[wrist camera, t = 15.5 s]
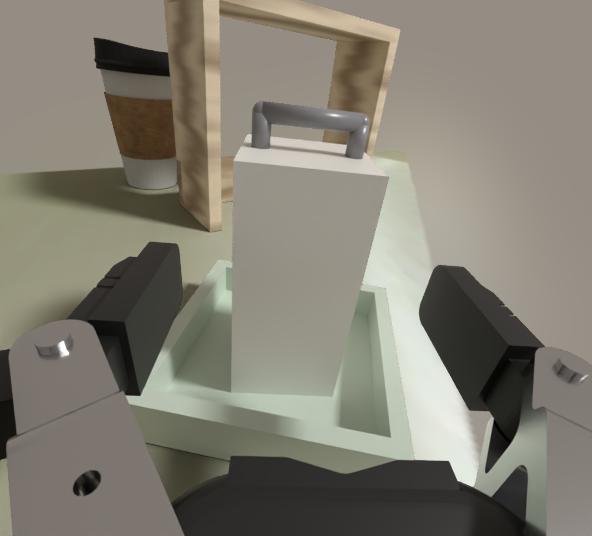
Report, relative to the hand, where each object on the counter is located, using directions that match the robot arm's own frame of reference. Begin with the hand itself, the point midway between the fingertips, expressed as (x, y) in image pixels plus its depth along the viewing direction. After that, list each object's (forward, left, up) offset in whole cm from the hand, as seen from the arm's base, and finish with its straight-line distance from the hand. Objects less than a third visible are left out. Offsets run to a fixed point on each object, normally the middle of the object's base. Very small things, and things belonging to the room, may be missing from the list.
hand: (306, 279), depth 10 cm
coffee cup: (-23, +30, -9) cm, 39 cm away
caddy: (-1, +4, -8) cm, 9 cm away
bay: (-6, +29, -9) cm, 31 cm away
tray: (-1, +4, -9) cm, 10 cm away
